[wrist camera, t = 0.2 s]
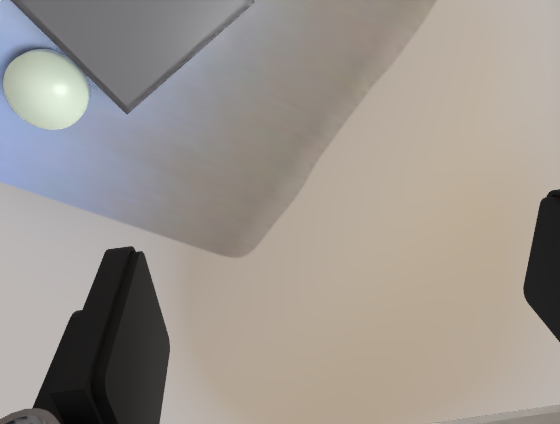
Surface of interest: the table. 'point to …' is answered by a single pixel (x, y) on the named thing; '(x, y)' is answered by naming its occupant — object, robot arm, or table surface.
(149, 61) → the grey drawer box
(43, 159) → the table surface
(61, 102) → the disc sage
